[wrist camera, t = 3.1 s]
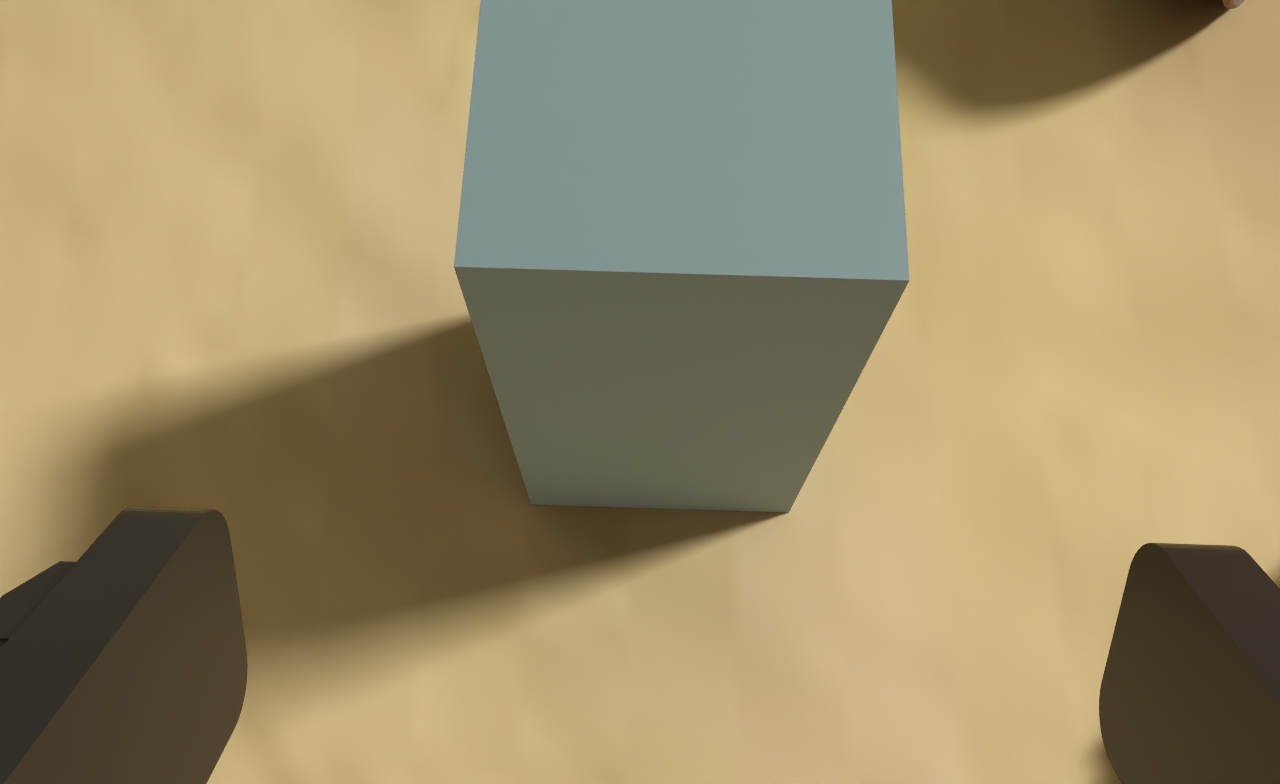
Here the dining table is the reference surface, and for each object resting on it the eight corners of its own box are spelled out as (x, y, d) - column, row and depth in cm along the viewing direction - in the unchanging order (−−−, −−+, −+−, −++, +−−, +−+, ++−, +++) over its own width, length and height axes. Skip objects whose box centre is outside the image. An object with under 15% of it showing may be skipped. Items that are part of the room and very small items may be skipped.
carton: (530, 504, 22) (453, 266, 12) (545, 295, 23) (486, -57, 14) (792, 512, 22) (916, 279, 12) (788, 302, 23) (895, -46, 14)
